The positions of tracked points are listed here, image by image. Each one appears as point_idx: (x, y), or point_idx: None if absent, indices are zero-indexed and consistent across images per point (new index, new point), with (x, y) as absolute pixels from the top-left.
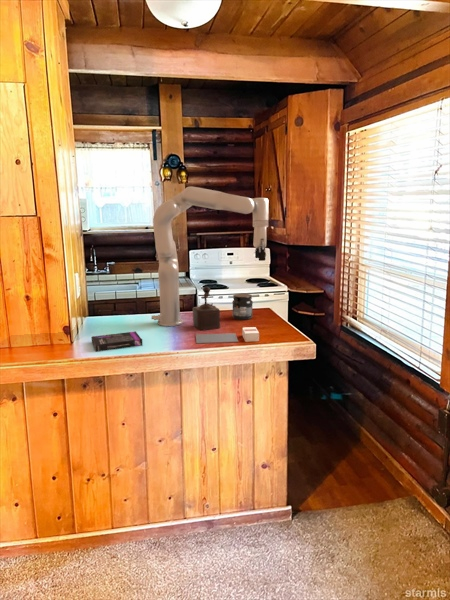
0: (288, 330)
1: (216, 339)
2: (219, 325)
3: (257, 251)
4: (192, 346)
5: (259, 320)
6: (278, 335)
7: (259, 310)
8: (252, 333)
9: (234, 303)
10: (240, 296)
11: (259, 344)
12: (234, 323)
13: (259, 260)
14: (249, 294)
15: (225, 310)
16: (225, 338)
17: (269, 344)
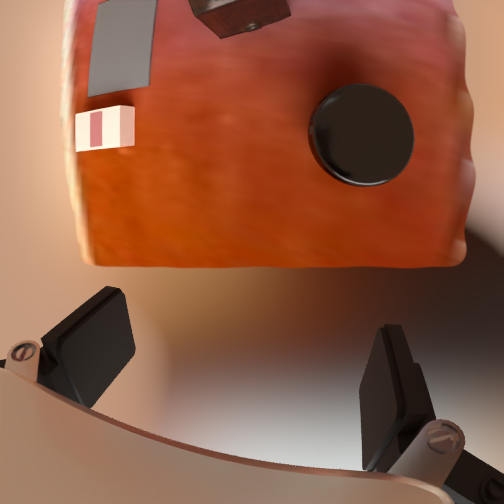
0: (168, 252)
1: (108, 41)
2: (217, 34)
3: (386, 418)
4: (87, 2)
5: (298, 192)
6: (127, 210)
7: (440, 235)
8: (76, 133)
9: (334, 89)
10: (334, 115)
11: (73, 148)
12: (272, 90)
13: (111, 290)
14: (377, 178)
15: (468, 106)
16: (110, 62)
17: (72, 172)
